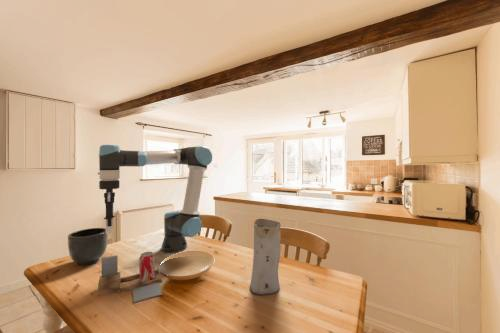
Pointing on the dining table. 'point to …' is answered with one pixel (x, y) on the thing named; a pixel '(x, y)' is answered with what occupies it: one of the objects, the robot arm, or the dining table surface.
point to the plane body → (113, 283)
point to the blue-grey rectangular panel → (109, 266)
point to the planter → (87, 245)
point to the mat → (146, 292)
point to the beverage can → (147, 266)
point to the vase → (266, 257)
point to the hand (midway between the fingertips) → (109, 232)
